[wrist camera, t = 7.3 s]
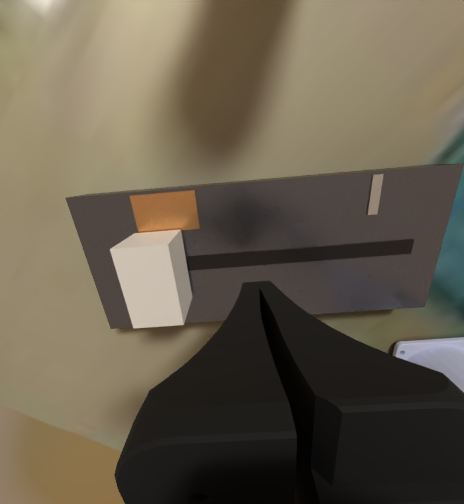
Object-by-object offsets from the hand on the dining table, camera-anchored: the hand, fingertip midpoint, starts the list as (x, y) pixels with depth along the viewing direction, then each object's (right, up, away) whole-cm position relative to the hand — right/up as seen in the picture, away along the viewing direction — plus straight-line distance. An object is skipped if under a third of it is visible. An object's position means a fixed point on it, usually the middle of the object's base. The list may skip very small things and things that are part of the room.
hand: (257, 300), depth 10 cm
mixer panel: (+1, +3, +7) cm, 7 cm away
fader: (-6, +1, +4) cm, 7 cm away
